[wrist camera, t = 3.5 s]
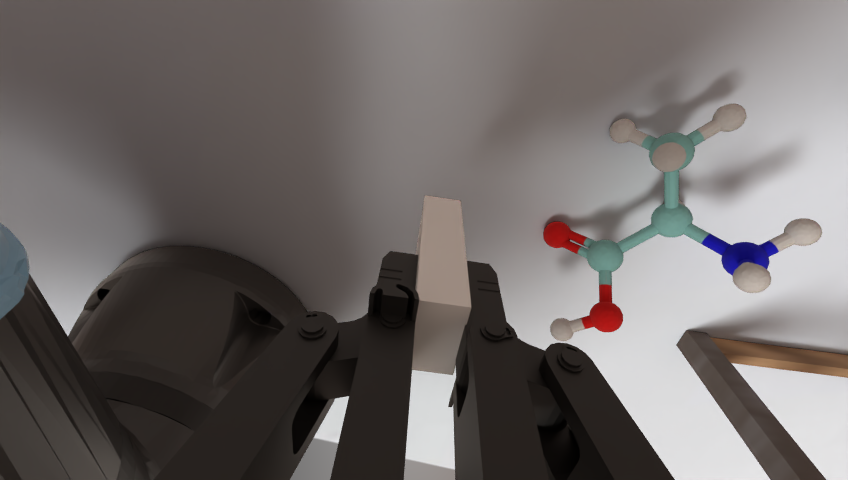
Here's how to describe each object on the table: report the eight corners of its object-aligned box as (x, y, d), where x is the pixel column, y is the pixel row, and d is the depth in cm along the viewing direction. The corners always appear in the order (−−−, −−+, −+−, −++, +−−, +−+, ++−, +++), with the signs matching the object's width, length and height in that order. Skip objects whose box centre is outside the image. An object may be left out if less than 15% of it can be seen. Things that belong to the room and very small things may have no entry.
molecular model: (555, 86, 16) (785, 260, 11) (695, 64, 20) (919, 186, 15) (488, 257, 25) (598, 403, 19) (594, 220, 29) (712, 334, 23)
